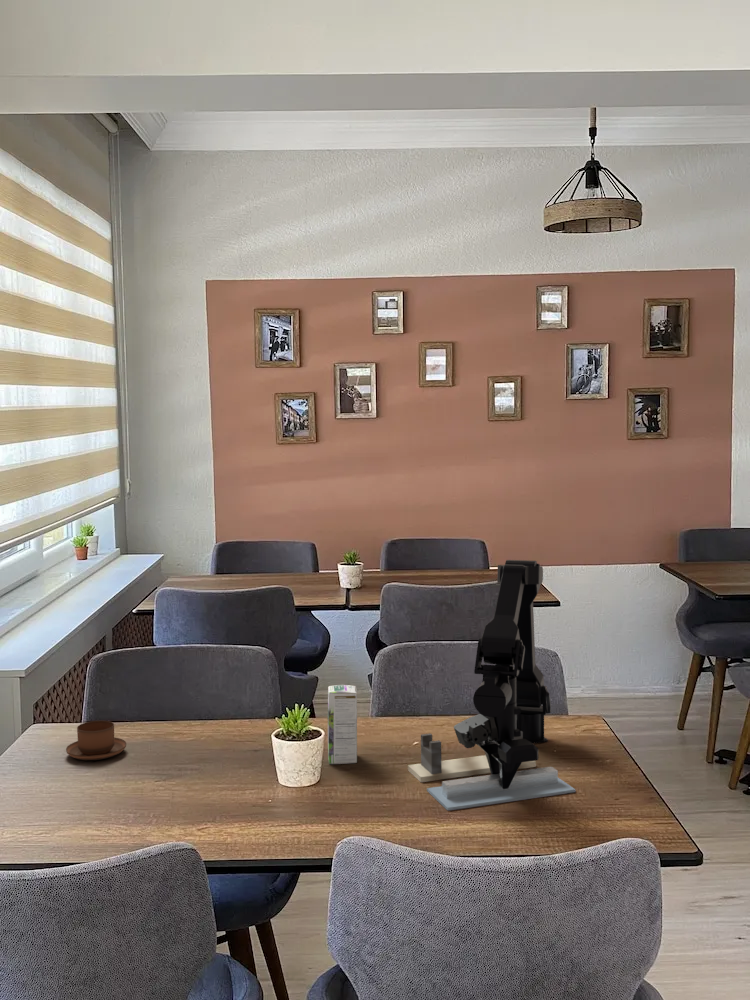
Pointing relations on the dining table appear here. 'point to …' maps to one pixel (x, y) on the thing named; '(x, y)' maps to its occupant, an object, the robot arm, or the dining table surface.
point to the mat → (500, 795)
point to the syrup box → (342, 724)
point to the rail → (498, 782)
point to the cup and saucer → (96, 741)
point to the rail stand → (450, 763)
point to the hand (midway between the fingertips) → (500, 785)
